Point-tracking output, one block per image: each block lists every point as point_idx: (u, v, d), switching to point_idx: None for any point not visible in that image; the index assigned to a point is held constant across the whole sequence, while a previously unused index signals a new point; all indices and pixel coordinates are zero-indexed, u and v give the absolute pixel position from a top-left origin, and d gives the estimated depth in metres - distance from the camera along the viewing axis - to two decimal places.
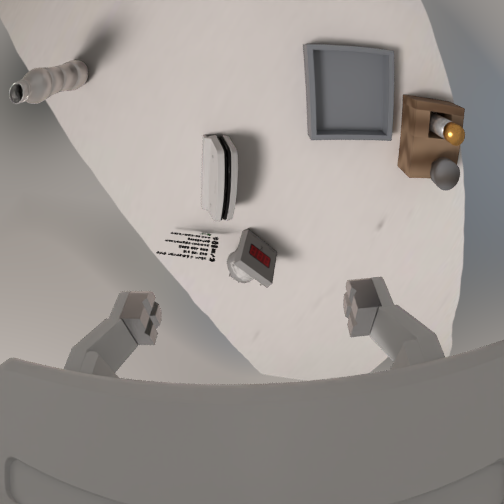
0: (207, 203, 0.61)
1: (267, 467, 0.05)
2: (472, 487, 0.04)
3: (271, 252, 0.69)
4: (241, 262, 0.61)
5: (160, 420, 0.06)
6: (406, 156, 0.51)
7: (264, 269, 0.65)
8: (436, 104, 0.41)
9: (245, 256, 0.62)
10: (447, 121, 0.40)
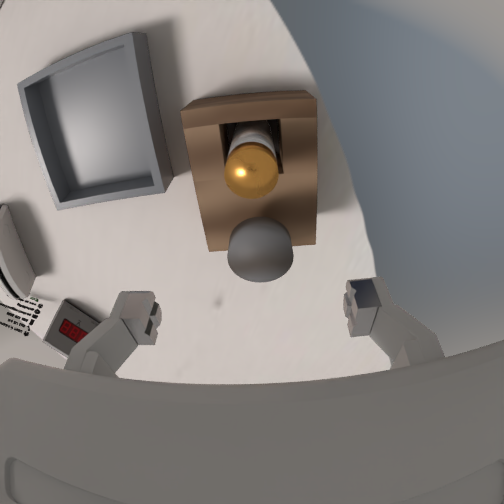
0: None
1: (267, 467, 0.05)
2: (472, 487, 0.04)
3: (92, 326, 0.51)
4: (47, 342, 0.43)
5: (160, 420, 0.06)
6: None
7: None
8: (231, 106, 0.23)
9: (52, 335, 0.44)
10: (240, 142, 0.22)
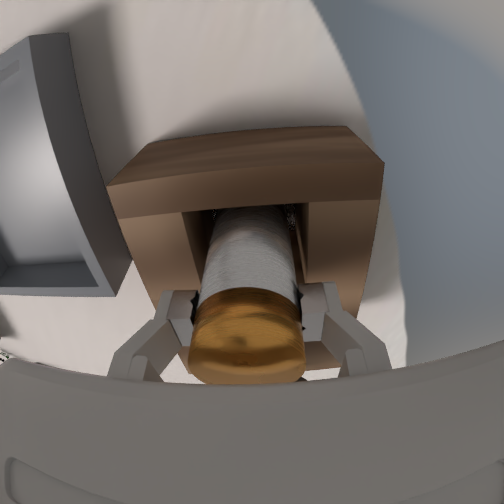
0: None
1: (267, 466, 0.05)
2: (472, 487, 0.04)
3: None
4: None
5: (160, 420, 0.06)
6: None
7: None
8: (204, 177, 0.12)
9: None
10: (222, 278, 0.10)
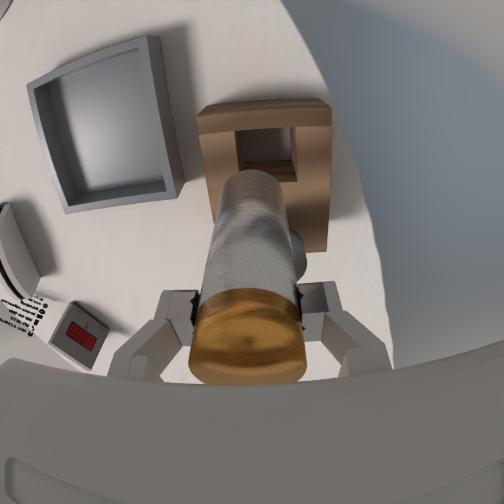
0: None
1: (267, 466, 0.05)
2: (472, 487, 0.04)
3: (100, 331, 0.51)
4: (53, 344, 0.42)
5: (160, 420, 0.06)
6: None
7: (83, 352, 0.46)
8: (247, 113, 0.24)
9: (58, 338, 0.43)
10: (223, 279, 0.10)
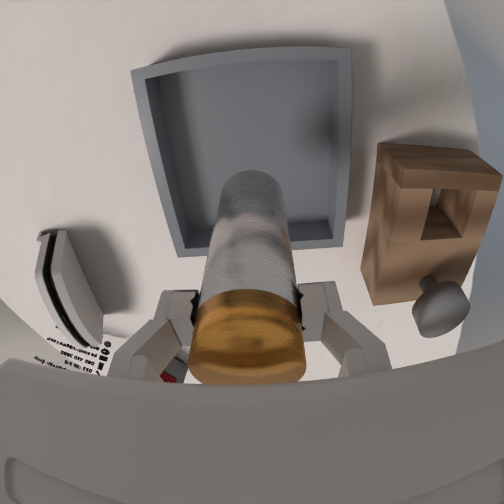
0: None
1: (267, 466, 0.05)
2: (472, 487, 0.04)
3: (179, 369, 0.48)
4: None
5: (160, 420, 0.06)
6: (373, 266, 0.30)
7: None
8: (448, 173, 0.20)
9: None
10: (223, 280, 0.10)
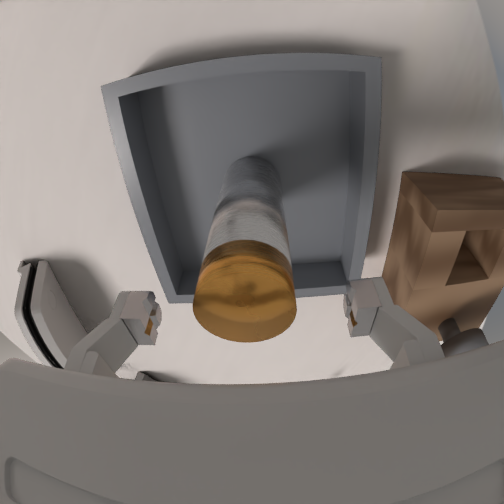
0: None
1: (267, 467, 0.05)
2: (472, 487, 0.04)
3: None
4: None
5: (160, 420, 0.06)
6: None
7: None
8: (484, 212, 0.16)
9: None
10: (225, 235, 0.12)
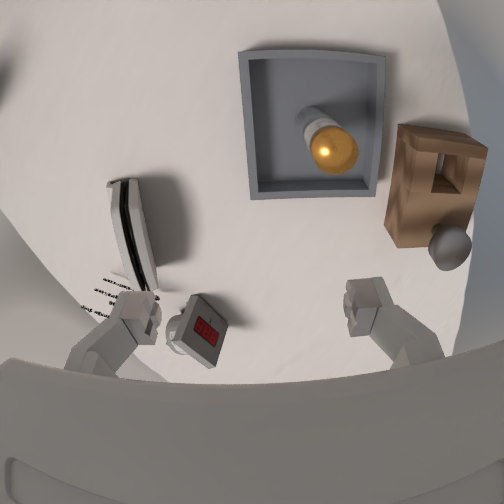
0: None
1: (267, 467, 0.05)
2: (472, 487, 0.04)
3: (221, 326, 0.55)
4: (182, 342, 0.45)
5: (160, 420, 0.06)
6: (396, 217, 0.37)
7: (209, 349, 0.50)
8: (448, 142, 0.28)
9: (187, 335, 0.47)
10: (322, 125, 0.24)
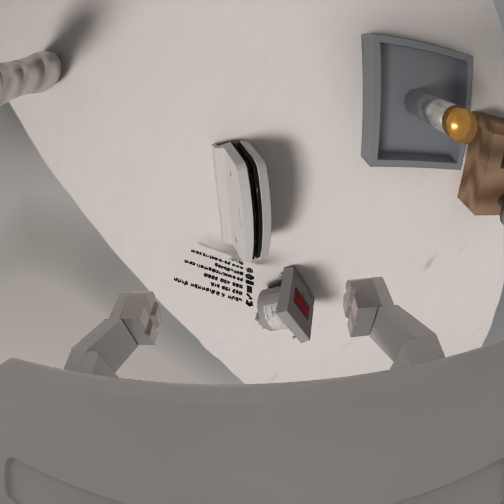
0: (230, 236, 0.46)
1: (267, 467, 0.05)
2: (472, 487, 0.04)
3: (309, 299, 0.55)
4: (287, 313, 0.45)
5: (160, 420, 0.06)
6: (472, 188, 0.37)
7: (304, 321, 0.50)
8: None
9: (290, 306, 0.47)
10: (448, 104, 0.24)
